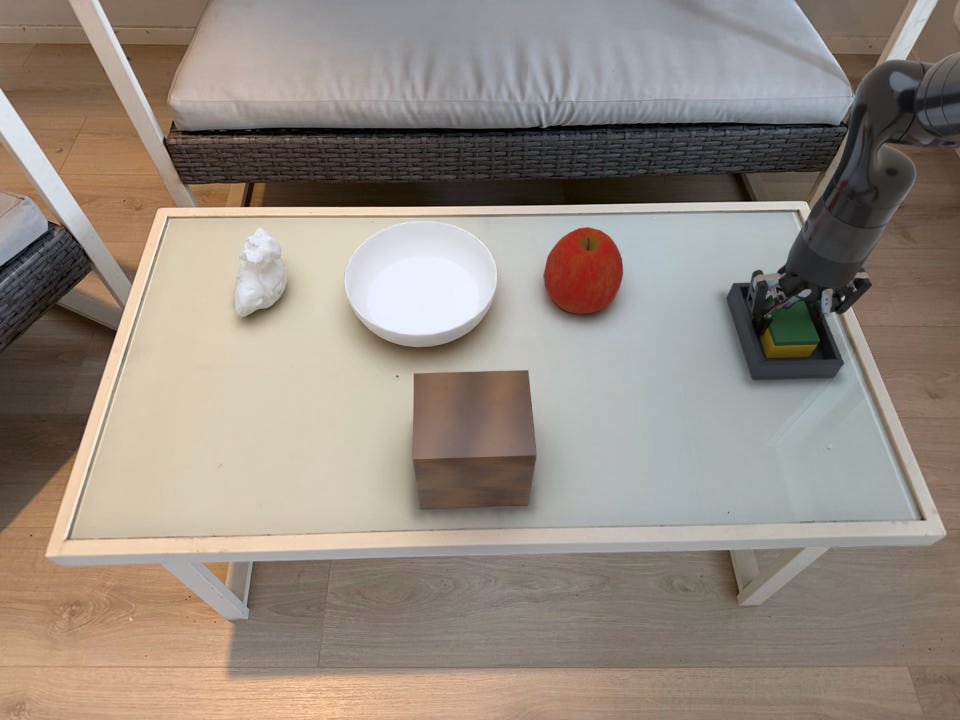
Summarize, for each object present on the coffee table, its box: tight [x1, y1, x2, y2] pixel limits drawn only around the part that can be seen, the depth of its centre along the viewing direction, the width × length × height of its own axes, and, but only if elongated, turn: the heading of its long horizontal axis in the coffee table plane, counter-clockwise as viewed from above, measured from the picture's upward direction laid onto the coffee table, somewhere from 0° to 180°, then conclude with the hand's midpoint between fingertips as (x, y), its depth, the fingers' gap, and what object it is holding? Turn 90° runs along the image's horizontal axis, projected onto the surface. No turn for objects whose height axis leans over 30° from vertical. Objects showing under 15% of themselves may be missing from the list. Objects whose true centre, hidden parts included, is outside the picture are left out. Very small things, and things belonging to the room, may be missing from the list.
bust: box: [234, 227, 288, 318], centre depth 91 cm, size 12×8×11 cm
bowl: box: [343, 220, 499, 348], centre depth 91 cm, size 20×20×6 cm
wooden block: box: [412, 369, 538, 510], centre depth 75 cm, size 12×10×12 cm
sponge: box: [753, 292, 820, 358], centre depth 89 cm, size 8×6×4 cm
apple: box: [542, 226, 624, 315], centre depth 91 cm, size 10×10×10 cm
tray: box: [726, 282, 845, 381], centre depth 90 cm, size 13×10×3 cm
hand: (781, 329), depth 90 cm, fingers closed on sponge, 5 cm apart
